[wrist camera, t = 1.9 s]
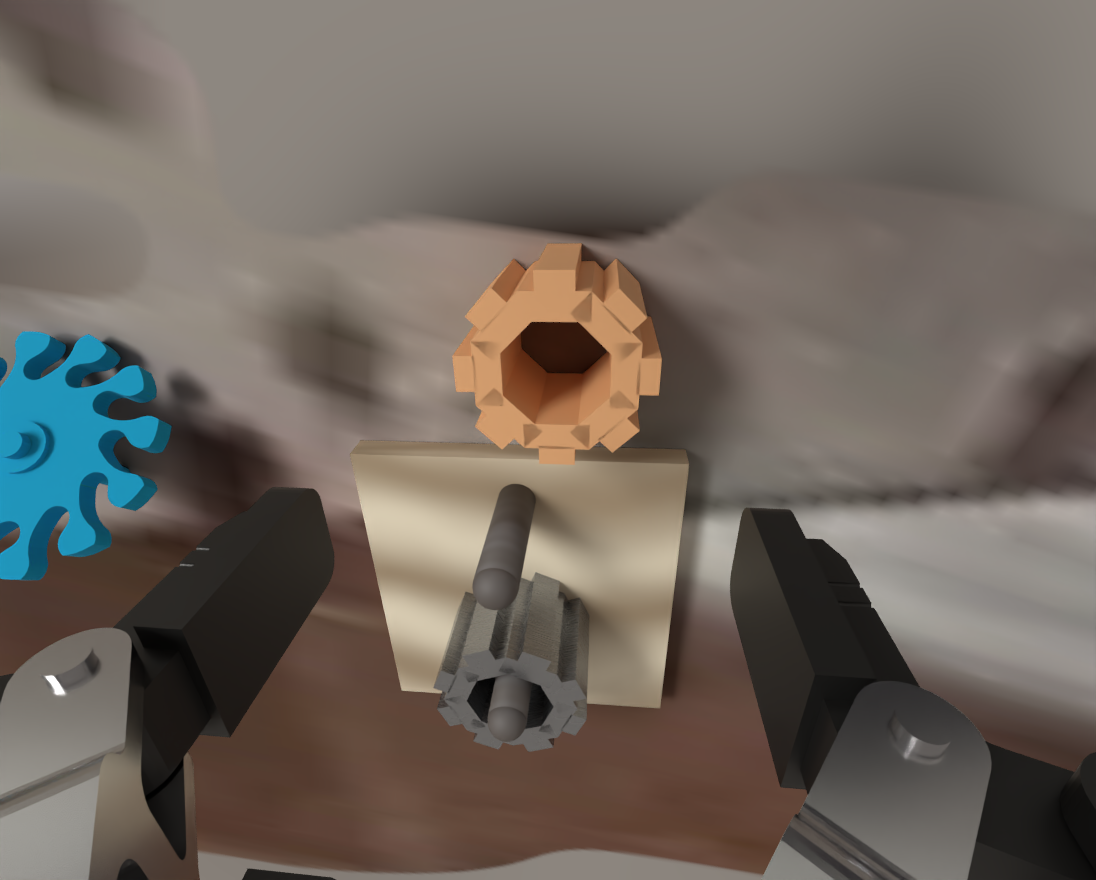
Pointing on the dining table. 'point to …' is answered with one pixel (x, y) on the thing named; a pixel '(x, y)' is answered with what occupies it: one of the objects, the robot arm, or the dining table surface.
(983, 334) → the dining table surface
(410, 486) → the peg board
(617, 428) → the gear
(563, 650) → the gear
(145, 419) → the blue sprocket wheel
